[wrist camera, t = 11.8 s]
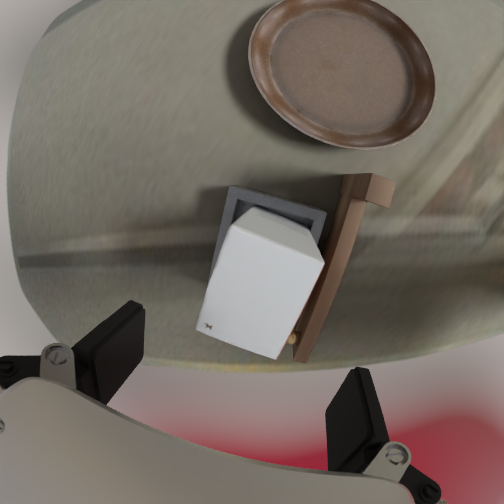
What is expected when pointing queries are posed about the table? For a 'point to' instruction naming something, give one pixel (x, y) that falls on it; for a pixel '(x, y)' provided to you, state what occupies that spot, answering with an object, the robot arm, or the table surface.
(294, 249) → the small box
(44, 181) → the table surface
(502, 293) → the table surface
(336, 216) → the brown l-shaped wood piece
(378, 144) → the plant saucer
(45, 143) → the table surface
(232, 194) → the gray square tray
